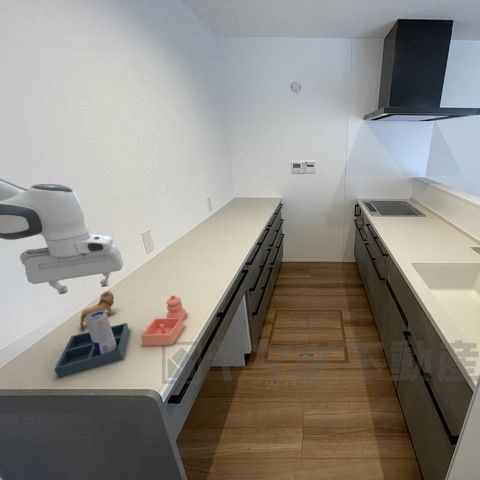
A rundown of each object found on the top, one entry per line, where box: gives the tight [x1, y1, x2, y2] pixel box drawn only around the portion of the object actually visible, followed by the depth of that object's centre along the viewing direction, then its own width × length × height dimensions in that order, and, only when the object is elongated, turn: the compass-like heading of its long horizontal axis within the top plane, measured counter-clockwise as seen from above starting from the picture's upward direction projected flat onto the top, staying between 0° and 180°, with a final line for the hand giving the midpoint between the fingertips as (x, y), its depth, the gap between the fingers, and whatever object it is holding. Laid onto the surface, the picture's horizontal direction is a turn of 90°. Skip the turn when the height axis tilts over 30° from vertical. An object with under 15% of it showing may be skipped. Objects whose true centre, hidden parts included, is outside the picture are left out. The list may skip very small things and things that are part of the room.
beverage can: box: [84, 310, 117, 356], centre depth 82 cm, size 5×5×15 cm
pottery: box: [140, 294, 187, 346], centre depth 96 cm, size 18×10×10 cm, turn 3°
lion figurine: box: [79, 290, 115, 332], centre depth 100 cm, size 15×5×9 cm, turn 175°
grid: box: [54, 322, 130, 379], centre depth 85 cm, size 15×15×4 cm
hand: (85, 289), depth 76 cm, fingers open, 8 cm apart
